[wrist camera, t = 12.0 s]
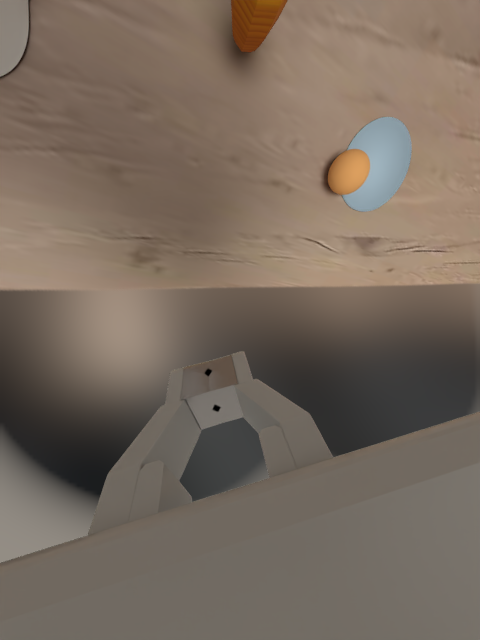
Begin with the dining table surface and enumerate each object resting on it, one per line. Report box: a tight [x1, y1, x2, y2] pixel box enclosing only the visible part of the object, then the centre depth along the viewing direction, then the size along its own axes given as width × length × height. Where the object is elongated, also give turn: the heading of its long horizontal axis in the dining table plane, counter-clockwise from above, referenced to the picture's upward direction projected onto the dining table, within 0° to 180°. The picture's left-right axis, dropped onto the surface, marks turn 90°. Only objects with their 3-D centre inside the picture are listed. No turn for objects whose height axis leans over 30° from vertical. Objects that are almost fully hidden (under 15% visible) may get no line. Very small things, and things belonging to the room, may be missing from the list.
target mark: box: [342, 117, 412, 211], centre depth 32 cm, size 12×12×1 cm
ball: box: [328, 149, 370, 195], centre depth 30 cm, size 5×5×5 cm
